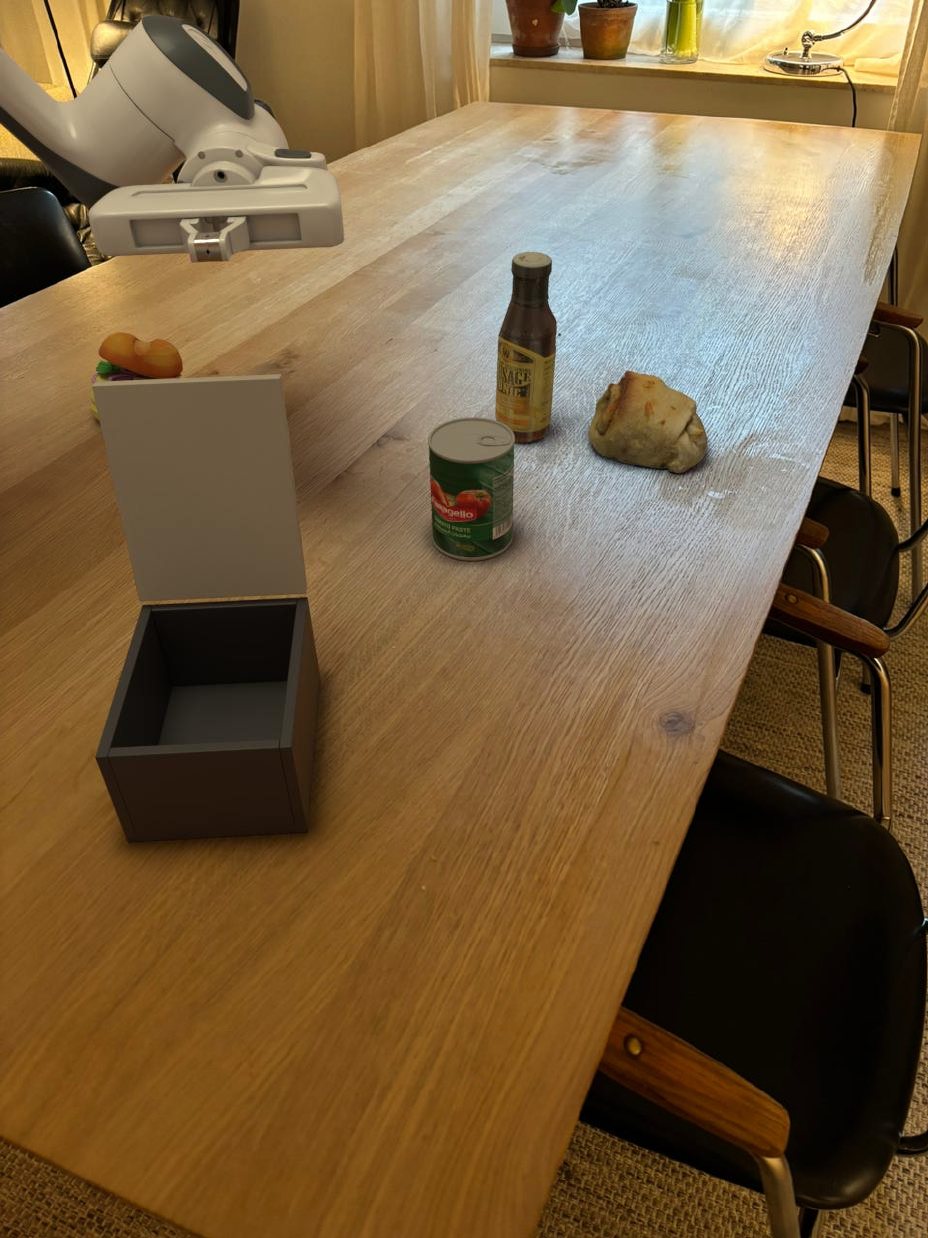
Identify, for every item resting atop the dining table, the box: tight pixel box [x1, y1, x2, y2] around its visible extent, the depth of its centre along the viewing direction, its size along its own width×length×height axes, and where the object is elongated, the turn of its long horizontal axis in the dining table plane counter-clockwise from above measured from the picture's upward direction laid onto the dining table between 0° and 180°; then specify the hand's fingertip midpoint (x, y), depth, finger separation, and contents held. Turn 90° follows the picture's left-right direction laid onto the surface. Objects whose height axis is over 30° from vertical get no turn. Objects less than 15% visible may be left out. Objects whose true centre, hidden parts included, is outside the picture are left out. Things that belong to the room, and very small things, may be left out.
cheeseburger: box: [89, 331, 184, 421], centre depth 116 cm, size 10×11×10 cm
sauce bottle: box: [494, 251, 558, 444], centre depth 106 cm, size 6×6×20 cm
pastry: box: [588, 370, 708, 474], centre depth 107 cm, size 14×12×8 cm
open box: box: [94, 596, 321, 843], centre depth 73 cm, size 16×13×9 cm
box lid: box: [91, 373, 308, 603], centre depth 71 cm, size 17×13×1 cm
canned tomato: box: [427, 416, 516, 562], centre depth 93 cm, size 8×8×11 cm
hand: (207, 251), depth 76 cm, fingers closed
